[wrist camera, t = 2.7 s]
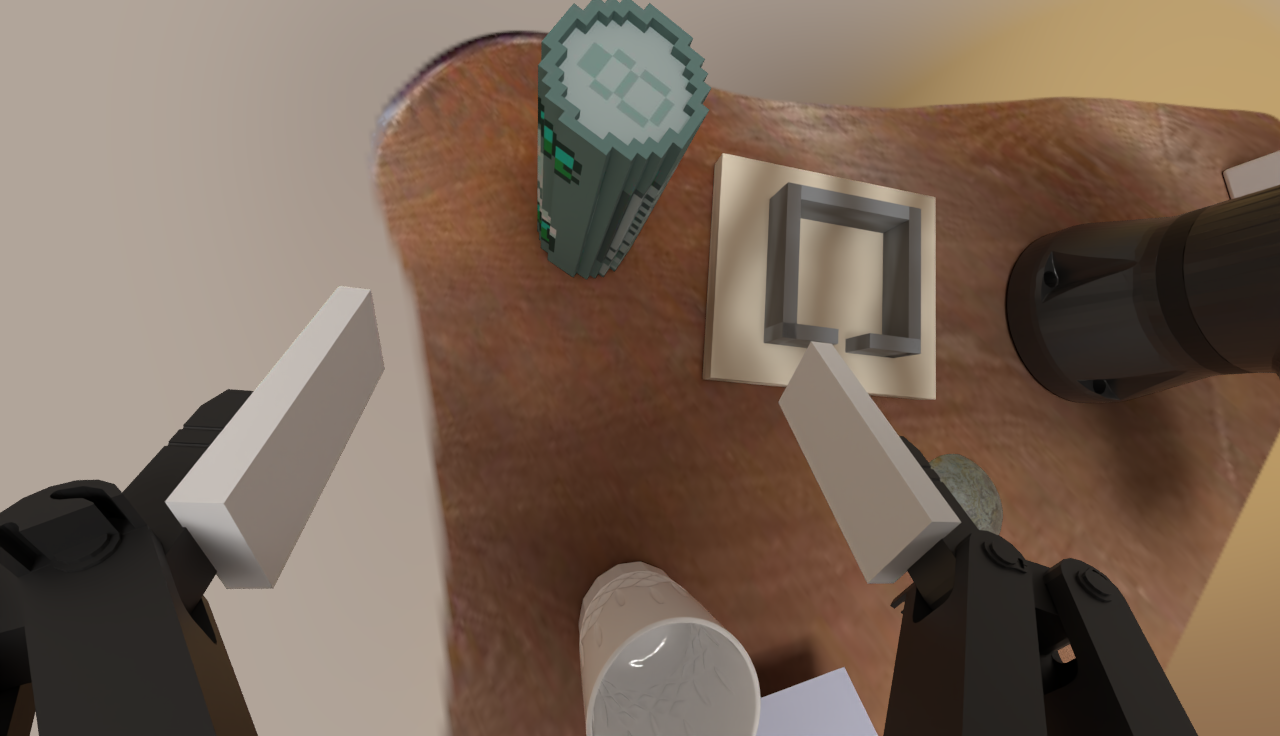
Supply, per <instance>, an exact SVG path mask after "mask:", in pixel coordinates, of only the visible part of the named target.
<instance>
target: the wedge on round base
mask: <svg viewBox="0 0 1280 736" xmlns="http://www.w3.org/2000/svg"><path fill="white" fill-rule="evenodd" d="M756 736H878V735H877V733H876V731H875V729H874V727H873V725H872V723H871V721H870V719H869V717H868V715H867V713H866V711H865V708H864V706H863V704H862V702H861V700H860V698H859V696H858V694H857V692H856V690H855V688H854V686H853V684H852V682H851V680H850V678H849V676H848V674H847V672H846V670H845V668H844V667H843V668H840V669H837V670H835V671H832V672H829V673H827V674H824V675H821V676H819V677H816V678H813V679H810V680H808V681H805V682H802V683H800V684H797V685H794V686H792V687H789V688H786V689H784V690H781V691H778V692H776V693H773V694H770V695H768V696H765V697H761V710H760V719H759V725H758V730H757V734H756Z"/></svg>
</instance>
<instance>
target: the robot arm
mask: <svg viewBox="0 0 1280 736" xmlns="http://www.w3.org/2000/svg"><path fill="white" fill-rule="evenodd" d="M1007 311H1008V320H1009V326H1010V330H1011V334H1012V337H1013V340H1014V343H1015V346H1016V348H1017V350H1018V352H1019V354H1020V356H1021V358H1022V360H1023V362H1024V363H1025V365H1026V366H1027V368H1028V369H1029V371H1030V372H1031V373H1032V375H1033V376H1034V377H1035V378H1036V379H1037V380H1038V381H1039V382H1040V383H1041V384H1042V385H1043V386H1044V387H1046V388H1047V389H1048V390H1049V391H1051V392H1052V393H1054V394H1056V395H1058V396H1059V397H1062V398H1064V399H1067V400H1070V401H1074V402H1079V403H1102V402H1120V401H1126V400H1130V399H1134V398H1137V397H1141V396H1144V395H1148V394H1151V393H1155V392H1158V391H1162V390H1165V389H1169V388H1172V387H1176V386H1179V385H1183V384H1186V383H1189V382H1193V381H1196V380H1200V379H1203V378H1207V377H1210V376H1215V375H1226V374H1242V373H1258V372H1259V373H1276V374H1277V375H1278V376H1279V379H1280V185H1277V186H1274V187H1271V188H1267V189H1264V190H1261V191H1257V192H1254V193H1251V194H1247V195H1244V196H1241V197H1237V198H1234V199H1231V200H1227V201H1224V202H1221V203H1217V204H1215V205H1212V206H1208V207H1205V208H1202V209H1198V210H1195V211H1192V212H1188V213H1185V214H1182V215H1178V216H1174V217H1164V218H1151V219H1138V220H1125V221H1113V222H1100V223H1087V224H1081V225H1076V226H1072V227H1069V228H1066V229H1063V230H1061V231H1058V232H1055V233H1052V234H1049V235H1046V236H1044V237H1041V238H1039V239H1038V240H1036V241H1035V242H1033V243H1032V244H1031V245H1030V246H1029V247H1028V248H1027V249H1026V250H1025V251H1024V252H1023V253H1022V255H1021V256H1020V258H1019V259H1018V261H1017V263H1016V265H1015V267H1014V269H1013V272H1012V275H1011V278H1010V282H1009V287H1008V296H1007ZM383 371H384V363H383V357H382V351H381V345H380V339H379V333H378V328H377V322H376V316H375V310H374V304H373V299H372V293H371V289H362V288H354V287H345V286H338V288H337V289H336V290H335V291H334V293H333V294H332V295H331V296H330V297H329V299H328V300H327V301H326V302H325V304H324V305H323V306H322V308H321V309H320V310H319V311H318V312H317V314H316V315H315V316H314V317H313V319H312V320H311V321H310V322H309V323H308V325H307V326H306V327H305V328H304V330H303V331H302V332H301V333H300V335H299V336H298V337H297V338H296V340H295V341H294V342H293V343H292V345H291V346H290V347H289V348H288V350H287V351H286V352H285V353H284V355H283V356H282V357H281V358H280V359H279V361H278V362H277V363H276V364H275V366H274V367H273V368H272V369H271V371H270V372H269V373H268V374H267V376H266V377H265V378H264V379H263V381H262V382H261V383H260V384H259V385H258V387H257V388H256V389H255V390H254V391H244V390H230V389H228V390H226V391H224V392H223V393H221V394H219V395H218V396H216V397H215V398H213V399H211V400H210V401H208V402H206V403H205V404H203V405H201V406H200V407H199V409H198V410H197V411H196V412H195V413H194V414H193V415H192V416H191V417H190V419H189V420H188V421H187V422H186V423H185V424H184V428H183V429H180V430H179V431H178V432H177V433H176V434H175V435H174V436H173V437H172V438H171V440H170V441H169V444H168V446H164V447H163V448H162V449H161V450H160V452H159V453H158V454H157V455H156V456H155V457H154V458H153V459H152V460H151V462H150V463H149V464H148V465H147V466H146V467H145V468H144V469H143V470H142V472H141V473H140V474H139V475H138V476H137V477H136V478H135V479H134V480H133V481H132V483H131V484H130V485H129V486H128V487H127V488H126V489H125V490H124V491H123V492H122V493H121V491H120V490H119V489H118V488H117V486H116V485H115V484H112V483H108V482H105V481H101V480H80V481H79V480H77V481H72V482H68V483H64V484H60V485H56V486H51V487H48V488H46V489H43V490H41V491H39V492H37V493H34V494H32V495H29V496H27V497H25V498H23V499H21V500H19V501H18V502H16V503H15V504H13V505H12V506H10V507H9V508H7V509H6V510H4V511H3V512H1V513H0V736H30V731H31V727H32V723H33V719H34V715H35V711H36V717H37V724H38V731H39V736H258V734H257V732H256V729H255V727H254V724H253V721H252V718H251V716H250V713H249V711H248V708H247V705H246V702H245V700H244V697H243V694H242V692H241V689H240V686H239V684H238V681H237V678H236V675H235V673H234V670H233V667H232V665H231V662H230V659H229V657H228V654H227V651H226V649H225V646H224V644H223V641H222V638H221V635H220V633H219V630H218V627H217V624H216V622H215V619H214V616H213V614H212V611H211V608H210V606H209V603H208V601H207V599H206V598H205V597H204V596H203V594H204V592H205V591H206V589H207V587H208V586H209V584H210V582H211V581H212V579H213V578H214V576H215V575H217V576H218V577H219V579H220V580H221V581H222V583H223V584H224V586H225V587H226V589H253V588H255V589H256V588H257V589H260V588H261V589H262V588H274V586H275V584H276V582H277V580H278V578H279V576H280V574H281V572H282V570H283V568H284V566H285V564H286V562H287V560H288V558H289V556H290V554H291V552H292V550H293V548H294V546H295V545H296V542H297V540H298V539H299V537H300V535H301V533H302V531H303V529H304V527H305V525H306V523H307V521H308V519H309V517H310V515H311V513H312V511H313V509H314V507H315V505H316V503H317V501H318V499H319V497H320V495H321V493H322V491H323V489H324V487H325V485H326V483H327V481H328V480H329V477H330V476H331V473H332V472H333V470H334V468H335V466H336V464H337V462H338V460H339V458H340V456H341V454H342V452H343V450H344V448H345V446H346V444H347V442H348V440H349V438H350V436H351V434H352V432H353V430H354V428H355V426H356V424H357V422H358V420H359V418H360V416H361V415H362V412H363V410H364V409H365V406H366V405H367V403H368V401H369V399H370V397H371V395H372V393H373V391H374V389H375V387H376V385H377V383H378V381H379V379H380V377H381V375H382V373H383ZM778 403H779V405H780V407H781V409H782V411H783V413H784V415H785V417H786V419H787V421H788V423H789V425H790V427H791V429H792V431H793V433H794V435H795V437H796V439H797V441H798V443H799V445H800V447H801V449H802V451H803V453H804V455H805V457H806V459H807V461H808V464H809V466H810V468H811V470H812V472H813V474H814V476H815V478H816V480H817V482H818V484H819V486H820V488H821V490H822V492H823V494H824V496H825V498H826V500H827V502H828V504H829V506H830V508H831V510H832V512H833V514H834V516H835V518H836V520H837V522H838V524H839V526H840V528H841V530H842V533H843V535H844V537H845V539H846V541H847V543H848V545H849V547H850V549H851V551H852V553H853V555H854V557H855V559H856V561H857V563H858V565H859V567H860V569H861V571H862V573H863V575H864V577H865V579H866V581H867V583H894V582H896V581H897V580H898V579H899V578H900V577H901V576H902V575H903V574H904V573H906V572H907V571H908V572H909V574H910V576H911V578H912V579H913V581H914V583H912V584H911V585H910V586H909V587H908V588H907V589H905V590H904V591H903V592H902V593H901V594H900V595H898V596H897V597H896V598H895V599H894V600H893V601H892V603H891V605H890V606H891V607H893V608H894V609H895V608H896V607H897V606H898V605H899V604H901V603H902V602H904V601H905V605H904V610H903V611H901V613H902V614H903V618H902V624H901V630H900V636H899V643H898V649H897V655H896V661H895V667H894V673H893V680H892V686H891V692H890V698H889V704H888V711H887V717H886V723H885V729H884V735H883V736H1198V735H1197V733H1196V731H1195V729H1194V727H1193V725H1192V723H1191V722H1190V720H1189V718H1188V716H1187V714H1186V712H1185V710H1184V708H1183V707H1182V705H1181V703H1180V701H1179V699H1178V697H1177V695H1176V693H1175V692H1174V690H1173V688H1172V686H1171V684H1170V682H1169V680H1168V679H1167V677H1166V675H1165V673H1164V671H1163V669H1162V667H1161V665H1160V663H1159V662H1158V660H1157V658H1156V656H1155V654H1154V652H1153V650H1152V649H1151V647H1150V645H1149V643H1148V641H1147V639H1146V637H1145V635H1144V634H1143V632H1142V630H1141V628H1140V626H1139V624H1138V622H1137V620H1136V619H1135V617H1134V615H1133V613H1132V611H1131V609H1130V607H1129V605H1128V604H1127V602H1126V600H1125V598H1124V597H1123V595H1122V594H1121V592H1120V591H1119V590H1118V588H1117V587H1116V586H1115V585H1114V584H1113V583H1112V582H1111V581H1110V580H1109V579H1108V578H1107V577H1106V576H1105V575H1104V574H1103V573H1101V572H1100V571H1098V570H1097V569H1095V568H1094V567H1092V566H1090V565H1088V564H1086V563H1084V562H1082V561H1080V560H1076V559H1072V558H1068V559H1063V560H1062V561H1060V562H1059V563H1057V564H1056V565H1054V566H1053V567H1051V568H1049V567H1046V566H1043V565H1040V564H1037V563H1034V562H1030V561H1027V560H1025V558H1024V557H1023V556H1022V554H1021V553H1020V552H1019V551H1018V550H1017V549H1016V548H1015V547H1014V546H1013V545H1012V544H1011V543H1009V542H1008V541H1006V540H1005V539H1003V538H1002V537H1000V536H999V535H996V534H994V533H992V532H989V531H985V530H979V529H978V528H977V527H976V525H975V524H974V523H973V521H972V520H971V519H970V517H969V516H968V515H967V513H966V512H965V511H964V509H963V508H962V507H961V505H960V504H959V503H958V501H957V500H956V499H955V497H954V496H953V495H952V493H951V492H950V491H949V489H948V488H947V487H946V485H945V484H944V483H943V482H941V481H940V477H939V476H938V475H937V473H936V472H935V471H934V469H931V465H930V464H929V463H928V461H927V460H926V459H925V457H924V456H923V454H922V453H921V452H920V451H919V450H918V449H917V448H916V447H915V446H914V445H913V444H911V443H910V442H909V441H908V440H907V439H906V438H904V437H903V436H898V434H897V433H896V432H895V430H894V429H893V427H892V426H891V425H890V423H889V422H888V421H887V419H886V418H885V416H884V415H883V414H882V412H881V411H880V410H879V408H878V407H877V405H876V404H875V403H874V401H873V400H872V399H871V397H870V396H869V394H868V393H867V392H866V390H865V389H864V387H863V386H862V385H861V383H860V382H859V381H858V379H857V378H856V376H855V375H854V374H853V372H852V371H851V370H850V368H849V367H848V365H847V364H846V363H845V361H844V360H843V359H842V357H841V356H840V354H839V353H838V352H837V350H836V349H835V348H834V346H833V345H832V344H830V343H822V342H813V341H811V342H810V344H809V346H808V348H807V350H806V352H805V353H804V355H803V357H802V359H801V361H800V363H799V365H798V366H797V368H796V370H795V372H794V374H793V376H792V378H791V380H790V381H789V383H788V385H787V387H786V389H785V391H784V393H783V394H782V396H781V398H780V400H779V402H778ZM1069 644H1071V647H1072V649H1073V652H1074V654H1075V657H1076V658H1075V659H1073V660H1071V661H1069V662H1067V663H1063V662H1062V660H1061V658H1060V656H1059V653H1058V650H1059V649H1061V648H1063V647H1065V646H1067V645H1069Z"/></svg>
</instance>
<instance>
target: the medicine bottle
mask: <svg viewBox="0 0 1280 736" xmlns="http://www.w3.org/2000/svg"><path fill="white" fill-rule="evenodd" d="M1223 175H1224V179H1225V182H1226V185H1227V188H1228V191H1229V194H1230V197H1231V199H1234V198H1237V197H1241V196H1244V195H1247V194H1251V193H1254V192H1257V191H1261V190H1264V189H1267V188H1271V187H1274V186H1277V185H1280V151H1277V152H1274V153H1271V154H1268V155H1266V156H1263V157H1260V158H1257V159H1254V160H1251V161H1249V162H1246V163H1243V164H1240V165H1237V166H1235V167H1232V168H1229V169H1227V170H1225V171H1224V172H1223Z"/></svg>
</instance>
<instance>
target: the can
mask: <svg viewBox="0 0 1280 736" xmlns="http://www.w3.org/2000/svg"><path fill="white" fill-rule="evenodd" d="M692 40H693V38H692V37H691V36H690V35H689V34H687V33H686V32H685V31H683V30H682V29H681V28H680V27H679V26H677V25H676V24H675V23H674V22H672V21H671V20H670V19H669V18H667V17H666V16H665V15H664V14H663V13H661V12H660V11H659V10H658V9H656V8H655V7H654V6H653V5H651V4H650V3H649V4H648V6H647V7H646V8H645V9H644V10H643V9H642V8H640V7H639V6H638V5H637V4H635V3H634V2H633V1H632V0H622V1H621V2H620V3H619V2H618V1H617V0H607V1H606V3H604V2H603V1H602V0H592V1H591V2H590V3H589V4H588V6H587V7H586V8H585V9H584V10H582V9H581V8H579V7H578V6H577V5H576V4H573V5H572V6H571V7H570V8H569V10H568V11H567V12H566V14H565V15H564V16H563V17H562V18H561V19H560V20H559V22H558V23H557V24H556V25H555V26H554V28H553V29H552V30H551V31H550V32H549V34H548V35H547V36H546V37H545V38H544V39H543V41H542V57H541V62H540V64H539V65H538V223H537V231H538V232H539V240H540V241H541V248H542V249H543V250H545V251H546V252H547V253H548V260H549V261H550V262H552V263H553V264H554V265H556V266H557V267H559V268H560V269H562V270H563V271H565V272H566V273H567V274H569V275H570V276H572V277H574V276H575V274H576V273H578V274H579V275H580V276H582V277H583V278H585V279H586V280H587V279H588V277H589V276H590V275H591V276H592V277H593V278H596V276H597V275H598V274H599V275H600V276H602V277H604V275H605V274H606V273H607V271H608V270H609V268H610V269H612V270H613V271H614V272H615V270H616V269H617V267H618V266H619V264H620V263H621V261H622V260H623V258H624V257H625V256H626V254H627V253H628V251H629V250H630V248H631V246H632V245H633V243H634V241H635V239H636V238H637V236H638V234H639V232H640V231H641V229H642V227H643V225H644V224H645V222H646V220H647V218H648V217H649V215H650V213H651V211H652V210H653V208H654V206H655V204H656V203H657V201H658V199H659V197H660V195H661V194H662V192H663V190H664V188H665V187H666V185H667V183H668V181H669V180H670V178H671V176H672V174H673V173H674V171H675V169H676V167H677V166H678V164H679V162H680V160H681V159H682V157H683V155H684V153H685V152H686V150H687V148H688V146H689V145H690V143H691V141H692V139H693V138H694V136H695V134H696V132H697V130H698V129H699V127H700V125H701V123H702V122H703V120H704V118H705V116H706V115H707V113H708V111H709V109H708V108H706V107H705V106H704V105H703V102H704V101H705V99H706V97H707V95H708V93H709V91H710V89H711V87H710V86H708V85H707V84H706V83H705V82H704V81H705V79H706V77H707V75H708V73H707V72H706V71H704V70H703V69H702V68H701V66H702V64H703V62H704V60H705V59H704V58H703V57H701V56H700V55H699V54H698V53H696V52H695V51H694V50H693V49H691V48H690V44H691V42H692Z"/></svg>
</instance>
